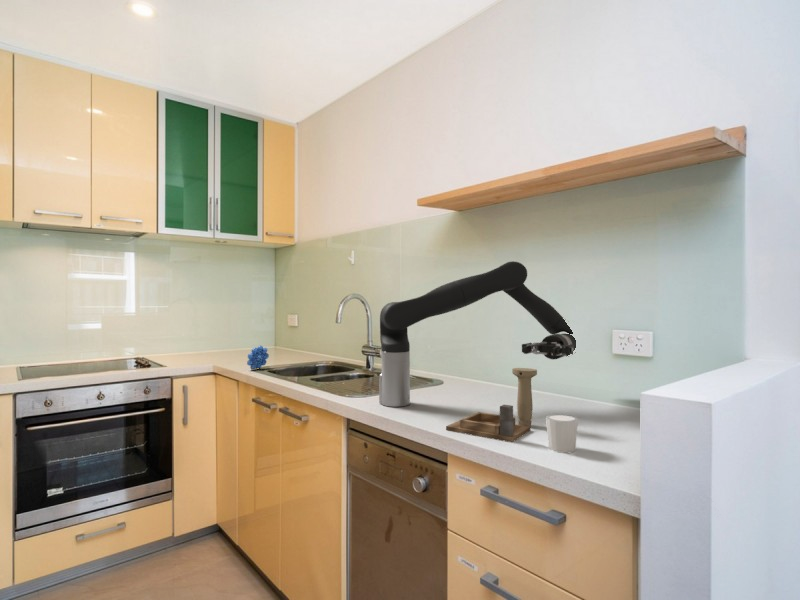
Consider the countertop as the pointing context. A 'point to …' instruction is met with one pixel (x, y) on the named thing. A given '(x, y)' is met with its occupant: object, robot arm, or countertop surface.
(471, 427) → the seat board
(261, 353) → the grapes
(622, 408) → the countertop surface
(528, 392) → the handle
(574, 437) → the white faceted cup
